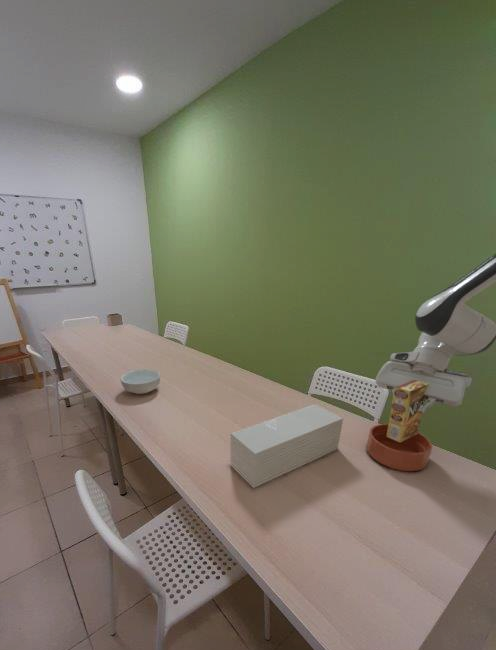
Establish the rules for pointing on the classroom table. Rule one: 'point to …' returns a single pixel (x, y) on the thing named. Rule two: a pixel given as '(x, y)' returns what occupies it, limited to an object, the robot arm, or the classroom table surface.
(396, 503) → the classroom table surface
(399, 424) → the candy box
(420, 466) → the pot
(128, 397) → the classroom table surface
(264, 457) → the pale grey rectangular box
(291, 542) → the classroom table surface
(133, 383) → the cereal bowl
